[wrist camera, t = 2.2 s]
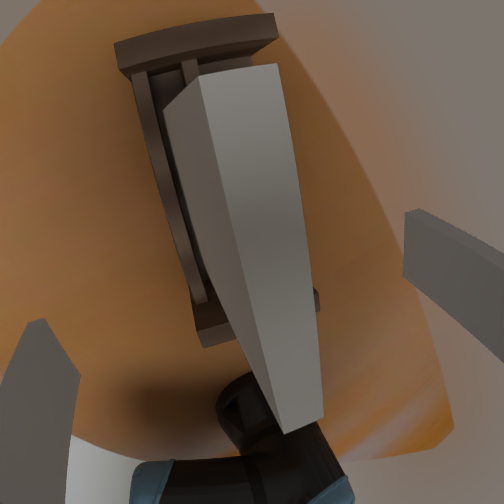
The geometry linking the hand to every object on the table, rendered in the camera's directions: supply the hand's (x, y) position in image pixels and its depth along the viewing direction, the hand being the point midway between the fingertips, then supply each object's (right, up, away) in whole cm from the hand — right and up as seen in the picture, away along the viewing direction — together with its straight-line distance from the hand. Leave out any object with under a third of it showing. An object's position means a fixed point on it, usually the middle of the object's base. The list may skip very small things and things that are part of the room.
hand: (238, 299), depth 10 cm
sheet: (-5, +8, +19) cm, 21 cm away
